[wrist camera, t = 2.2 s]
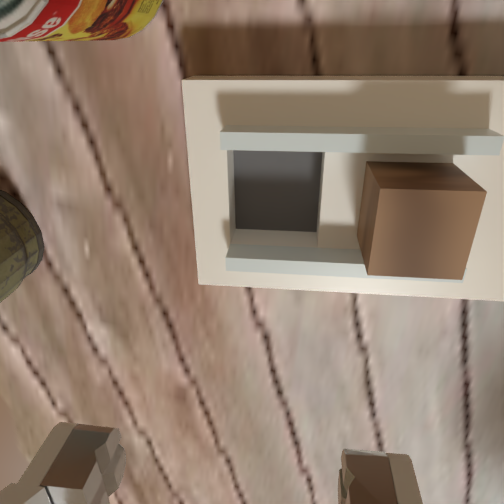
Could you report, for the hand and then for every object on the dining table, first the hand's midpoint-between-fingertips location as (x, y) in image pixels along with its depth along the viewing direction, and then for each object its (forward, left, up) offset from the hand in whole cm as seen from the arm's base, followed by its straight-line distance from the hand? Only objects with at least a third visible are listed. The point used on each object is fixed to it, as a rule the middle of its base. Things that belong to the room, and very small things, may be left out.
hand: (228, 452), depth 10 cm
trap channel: (-7, 0, -21) cm, 22 cm away
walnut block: (-8, 0, -18) cm, 20 cm away
